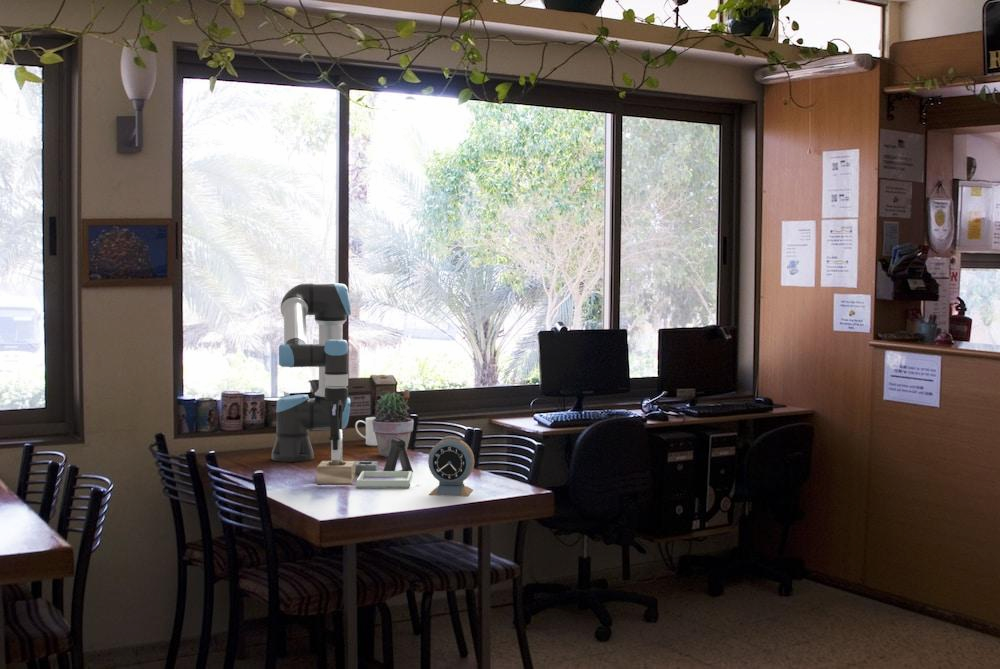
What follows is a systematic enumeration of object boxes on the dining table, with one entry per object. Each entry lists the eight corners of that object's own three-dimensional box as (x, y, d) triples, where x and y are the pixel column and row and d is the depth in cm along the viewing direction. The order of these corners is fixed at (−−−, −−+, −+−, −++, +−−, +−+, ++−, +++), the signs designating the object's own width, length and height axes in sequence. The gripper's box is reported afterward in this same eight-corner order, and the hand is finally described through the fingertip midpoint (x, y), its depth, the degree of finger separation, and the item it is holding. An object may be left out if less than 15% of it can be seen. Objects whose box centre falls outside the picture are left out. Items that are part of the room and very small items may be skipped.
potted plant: (368, 450, 425) (368, 386, 424) (418, 451, 424) (419, 386, 423) (360, 458, 407) (360, 391, 406) (413, 459, 406) (413, 391, 405)
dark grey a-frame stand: (388, 476, 371) (388, 441, 371) (382, 473, 377) (382, 438, 376) (413, 474, 375) (413, 439, 374) (407, 471, 380) (407, 437, 380)
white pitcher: (383, 442, 446) (383, 416, 446) (387, 445, 439) (387, 419, 438) (353, 443, 442) (353, 417, 442) (357, 446, 435) (357, 420, 434)
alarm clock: (425, 495, 340) (425, 438, 339) (431, 489, 350) (432, 433, 349) (471, 496, 338) (471, 439, 337) (476, 490, 348) (476, 434, 347)
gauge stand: (354, 472, 378) (354, 461, 377) (378, 472, 378) (378, 461, 377) (352, 476, 370) (352, 465, 369) (375, 477, 370) (375, 465, 369)
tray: (362, 478, 367) (362, 471, 367) (412, 478, 367) (412, 471, 367) (356, 488, 350) (356, 480, 350) (408, 488, 351) (408, 480, 350)
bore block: (322, 478, 366) (322, 460, 366) (355, 478, 366) (355, 460, 366) (317, 485, 355) (317, 466, 355) (351, 485, 355) (351, 466, 355)
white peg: (332, 474, 362) (331, 429, 361) (343, 474, 362) (342, 429, 361) (330, 476, 358) (330, 430, 358) (341, 476, 358) (341, 430, 358)
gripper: (328, 384, 367) (328, 454, 368) (321, 389, 350) (321, 462, 352) (350, 384, 367) (351, 454, 368) (344, 389, 351) (344, 462, 352)
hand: (336, 458), depth 360 cm, fingers closed on white peg, 3 cm apart
